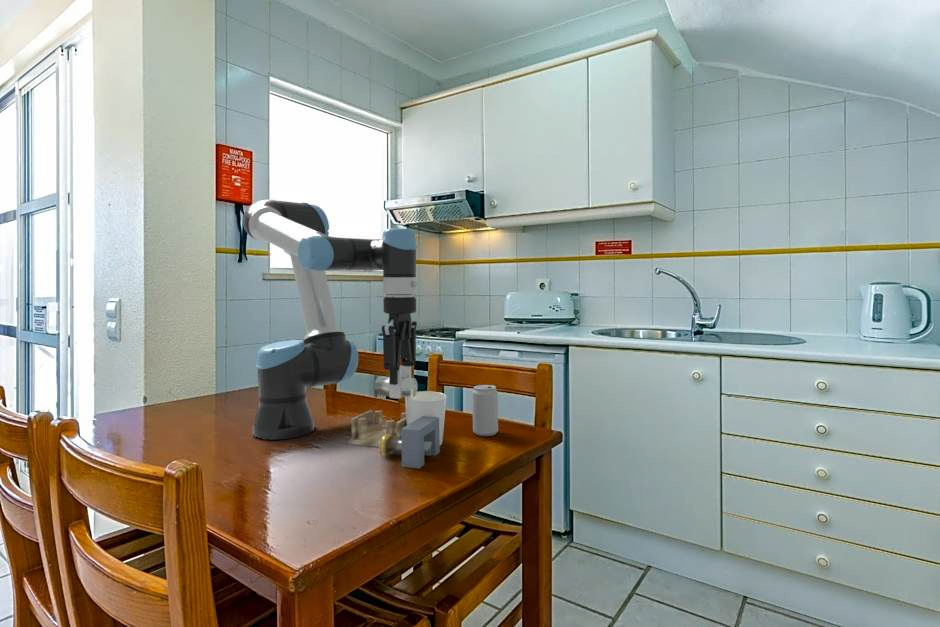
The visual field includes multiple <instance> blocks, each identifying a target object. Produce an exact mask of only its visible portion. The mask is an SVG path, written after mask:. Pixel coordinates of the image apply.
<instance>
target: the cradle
mask: <svg viewBox="0 0 940 627" xmlns="http://www.w3.org/2000/svg"><path fill="white" fill-rule="evenodd" d="M350 422H351V438H350V439H349V440H348V443H349V444H350V445H359V446H366V447H368V446H369V447H377V448H380V441H381V438H382V436H383V435H384V434H391V435H392V436H393V438H398V439H401V429H402V428H403V427H405V426H406V411H405V412H401V413H400V420H398V421H396V420H393V419H388V420H387V421H385V429H383V428H384V426H383V410H375V411H374V410H373V409H369V410H367V411H365V412H363V413H361V414H358V415H356V416H354V417H351V420H350Z"/></svg>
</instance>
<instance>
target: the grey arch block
mask: <svg viewBox="0 0 940 627" xmlns="http://www.w3.org/2000/svg"><path fill="white" fill-rule="evenodd" d="M424 441H430V442H432V443H433V452H432V454H431V456H437V455H438V454H440V452H441V449H440V448H441V445H440V441H439V417H428V416H422V417H420V418H419V419H417V420H415V421H414V422H412V423H410V424H409V425H407V426H405V427H403V428H402V429H401V443H402V453H401V466H402V467H403V468H411V469H419V470H420V469H421V468H422V467H423V466H425V455H424Z"/></svg>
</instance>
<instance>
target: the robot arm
mask: <svg viewBox="0 0 940 627" xmlns="http://www.w3.org/2000/svg"><path fill="white" fill-rule="evenodd" d="M242 225H243V228H244V230H245V232H246V234H247V235H248V236H249V237H250V238H252V239H254V240H256V241H257V242H260V243H264V244H272V245H274V246H275V247H278V248H280V249H282V250H283V252H284V253H285V254H287V255H289V257H290V260H291V265H292V270H293V274H294V279H295V280H294V281H295V284H296V288H297V293H298V294H297V295H298V299H299V303H300V308H301V313H302V317H303V323H304V327H305V332H306V335H305V336H304V338H303V339H291V340H281V341H277V342H273V343H269V344H267V345H264V346H262V347H261V348H260V349H259V350H258V352H257V360H256V361H257V362H256V368H257V384H258V385H257V387H258V391H257V392H258V406H257V410H256V414H255V417H254V423H253V424H252V436H253V435H254V436H255V437H254V436H253V437H254V438H256V437H258V438H257V439H259V438H262V439H261V440H267V439H268V440H269V441H273V440H287V439H292V438H298V437H302V436H304V435H308V434H310V433H312V432H313V431H314V430H315V420H314V418H313V417H312V412H311V410H310V409H311V408H310V407H309V404H308V400H307V389H309V388H314V387H315V388H316V387H320V386H321V387H322V386H326V385H332V384H333V385H337V384H339V383H343V382H347V381H349V380H351V378H352V377H354V375H355V373H356V372H357V368H358V366H359V352H358V348H357V345H356V344H355V342H354V341H352V340H349V339H346V338H347V337H346V334H345V331H343V330H342V329H340V328H339V327H338V322H337V318H336V314H335V309H334V304H333V300H332V296H331V290H330V287H329V283H328V278H327V272H326V271H362V272H374V271H383V272H382V277H383V278H382V279H383V280H382V282H383V285H382V286H383V287H382V289H383V290H382V293H383V295H384V296H385V297H383V301H382V302H383V313H385V314H387V315H388V320H387V324H386V325H383V324H382V325H381V331H382V332H381V333H382V343H383V344H382V348H383V351H382V352H383V369H384V370H385V371H388V375H389V376H388V377H389V390H390V396H389V398H390V399H402V398H403V397H402V391H401V387H402V385H401V377H404V378H412V366H414V367H415V366H416V360H417V359H416V358H417V355H416V354H417V353H416V352H417V349H416V348H417V344H416V343H417V334H416V333H417V332H416V331H417V325H418V322H417V321H416V320H412V315H411V314H415V313H417V298H416V297H415V296H414V295H416V294H417V285H418V282H417V276H416V275H417V267H416V266H417V248H418V247H417V243H416V233H415V231H414V230H413V229H410V228H404V227H403V228H401V227H400V228H399V227H398V228H397V227H395V228H394V227H393V228H392V227H391V228H385V229H384V230H383V231H382V237H381V239H380V238H375V239H371V238H356V237H355V238H353V237H351V238H350V237H336V236H330V235H329V234H330V232H329V230H330V223H329V219H328V216H327V214H326V212H325V211H324V210H323V208H322V207H320V206H318V205H316V204H310V203H308V202H293V201H285V200H284V201H283V200H277V199H276V200H275V199H262V200H261V199H260V200H257V201H255V202H253V203H252V204H251V205H249V206H248V207H247V208H246V210H245V211H244V214H243V216H242ZM400 364H401V365H400Z"/></svg>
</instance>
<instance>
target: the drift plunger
mask: <svg viewBox="0 0 940 627" xmlns="http://www.w3.org/2000/svg"><path fill="white" fill-rule="evenodd" d="M379 451H380V454H381V455H382V456H390V455H391V454H392V453H399V454H402V443H401V439H398V438H393V436H392V435H391V434H384V435H383V436H382V438H381V441H380V447H379ZM432 452H433V443H432V442H430V441H424V457H425V456H427V457H430V456H432V455H431V454H432Z"/></svg>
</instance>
